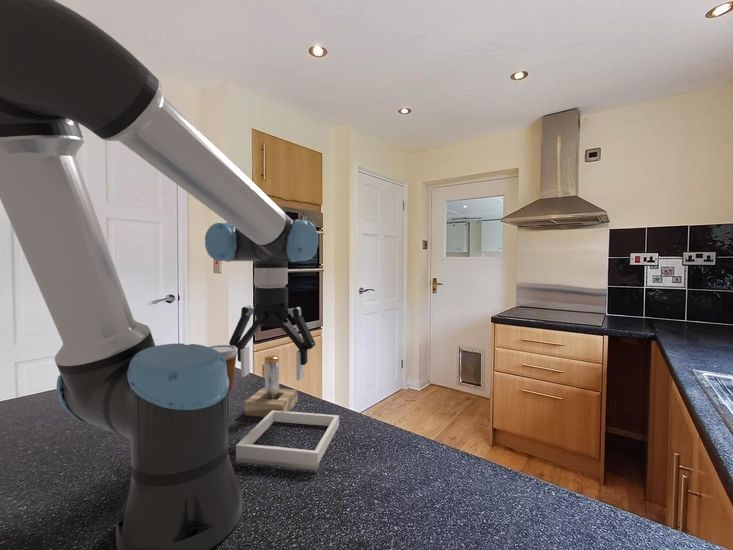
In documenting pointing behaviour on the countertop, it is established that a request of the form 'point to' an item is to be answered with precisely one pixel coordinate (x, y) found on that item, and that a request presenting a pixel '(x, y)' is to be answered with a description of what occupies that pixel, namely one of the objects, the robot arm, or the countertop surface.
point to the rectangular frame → (280, 454)
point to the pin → (272, 377)
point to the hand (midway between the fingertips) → (272, 376)
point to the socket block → (270, 402)
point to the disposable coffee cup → (228, 360)
